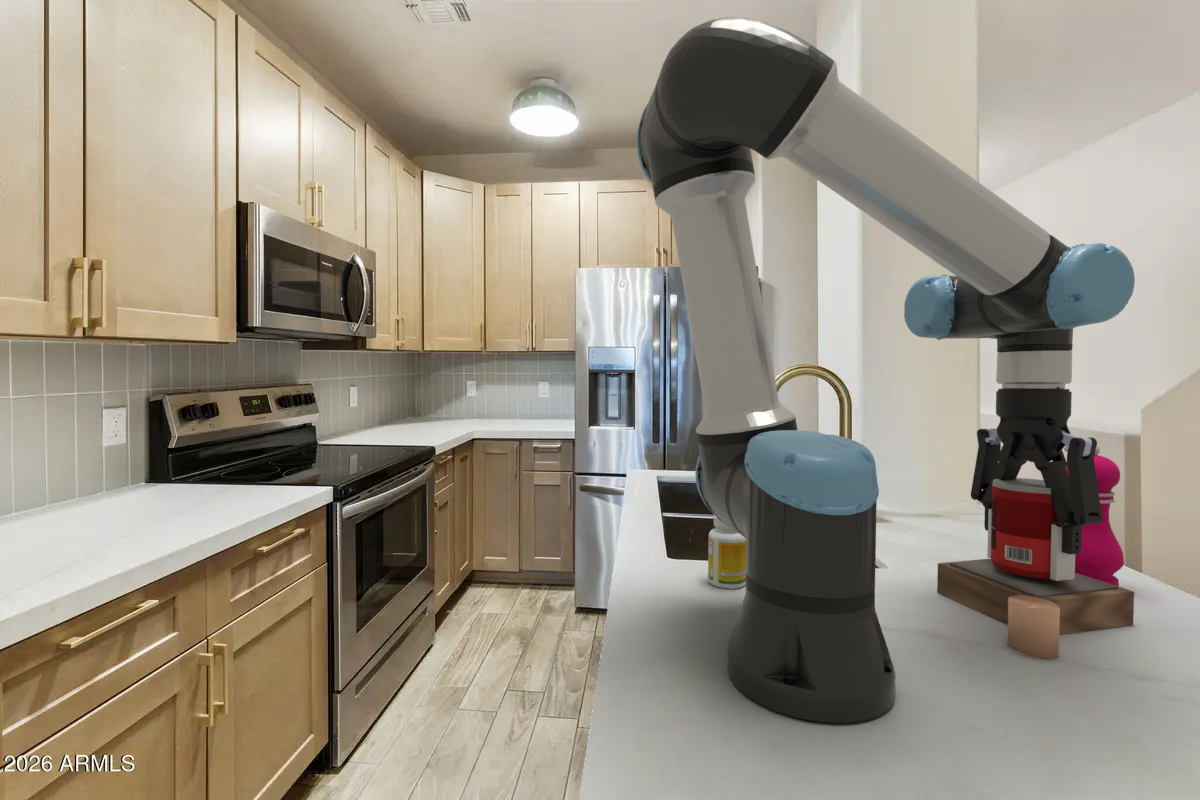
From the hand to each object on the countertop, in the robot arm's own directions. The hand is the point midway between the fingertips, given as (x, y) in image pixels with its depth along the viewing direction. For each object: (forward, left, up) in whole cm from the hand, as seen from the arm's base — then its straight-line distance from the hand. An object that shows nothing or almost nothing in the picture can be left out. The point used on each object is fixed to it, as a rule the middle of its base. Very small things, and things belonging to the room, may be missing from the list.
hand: (1028, 567), depth 72 cm
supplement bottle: (-33, +17, -5) cm, 37 cm away
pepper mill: (+15, +4, -5) cm, 16 cm away
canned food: (0, 0, 0) cm, 0 cm away
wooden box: (0, 0, -5) cm, 5 cm away
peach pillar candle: (-10, -9, -5) cm, 14 cm away
